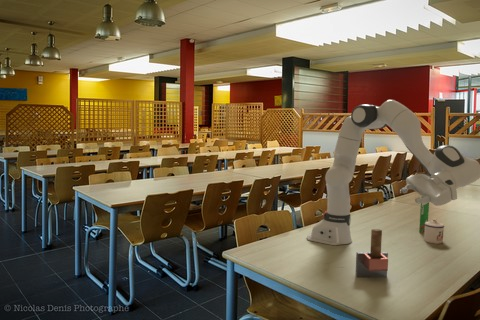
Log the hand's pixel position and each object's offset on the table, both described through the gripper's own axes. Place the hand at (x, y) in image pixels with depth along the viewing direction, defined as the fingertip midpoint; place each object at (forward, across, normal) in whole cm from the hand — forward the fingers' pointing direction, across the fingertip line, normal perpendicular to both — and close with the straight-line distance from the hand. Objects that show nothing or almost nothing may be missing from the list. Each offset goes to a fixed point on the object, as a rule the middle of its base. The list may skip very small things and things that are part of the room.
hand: (409, 196), depth 153 cm
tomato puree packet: (-30, -48, +61) cm, 83 cm away
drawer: (+25, +10, +23) cm, 35 cm away
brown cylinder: (+23, +8, +18) cm, 30 cm away
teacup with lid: (-24, -30, +54) cm, 66 cm away
